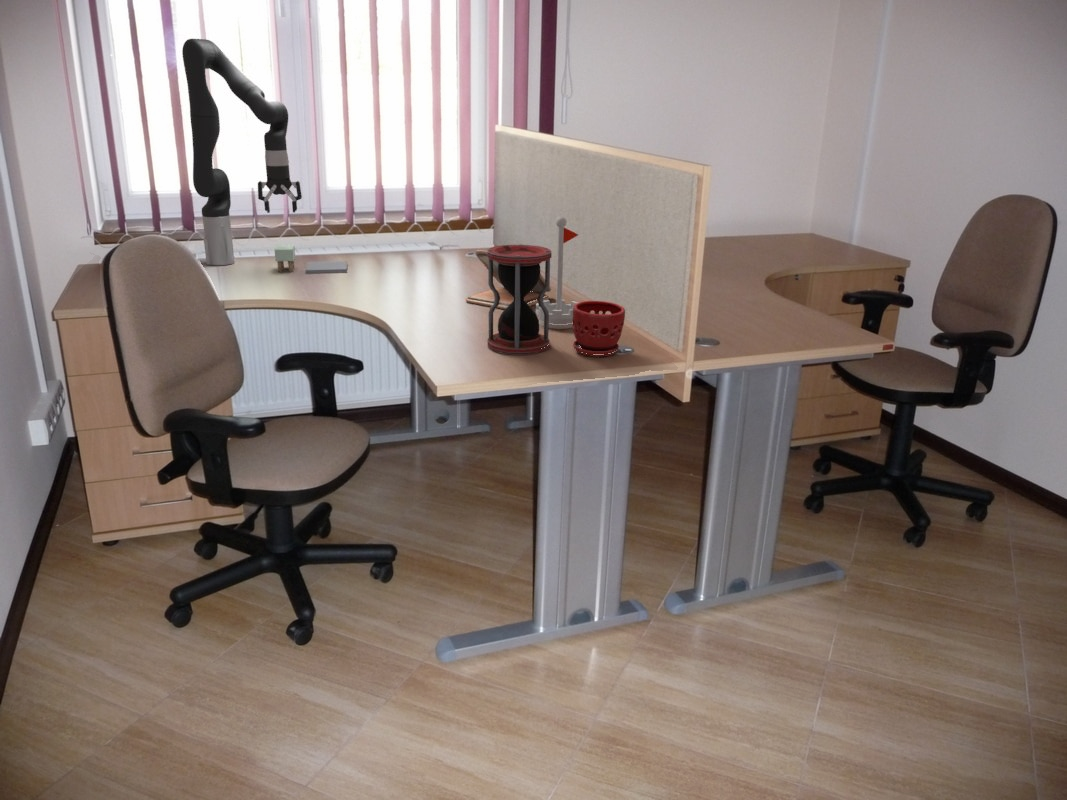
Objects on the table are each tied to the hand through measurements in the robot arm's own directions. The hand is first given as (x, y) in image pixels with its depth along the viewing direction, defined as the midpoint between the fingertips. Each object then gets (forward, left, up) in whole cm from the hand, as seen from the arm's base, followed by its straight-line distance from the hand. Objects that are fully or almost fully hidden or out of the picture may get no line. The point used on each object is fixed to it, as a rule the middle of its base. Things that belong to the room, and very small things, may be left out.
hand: (281, 212), depth 297 cm
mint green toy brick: (0, 0, -20) cm, 20 cm away
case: (+71, -53, -21) cm, 91 cm away
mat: (+14, 0, -20) cm, 24 cm away
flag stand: (+81, -81, -20) cm, 116 cm away
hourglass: (+66, -101, -20) cm, 122 cm away
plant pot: (+85, -109, -20) cm, 140 cm away
